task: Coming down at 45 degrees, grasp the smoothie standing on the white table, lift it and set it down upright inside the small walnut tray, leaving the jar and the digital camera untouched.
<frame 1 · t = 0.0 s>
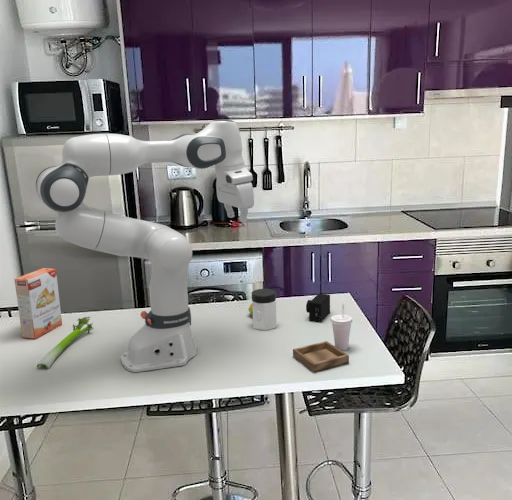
hand: (237, 219, 162), 39 cm above the table, tool pointing down, fingers open, 8 cm apart
cracker box: (43, 331, 184), on the table
tray: (320, 360, 154), on the table
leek: (68, 349, 169), on the table
digital camera: (318, 317, 188), on the table
smoothie: (341, 348, 162), on the table
toy pineapple: (258, 315, 192), on the table
jar: (264, 326, 181), on the table
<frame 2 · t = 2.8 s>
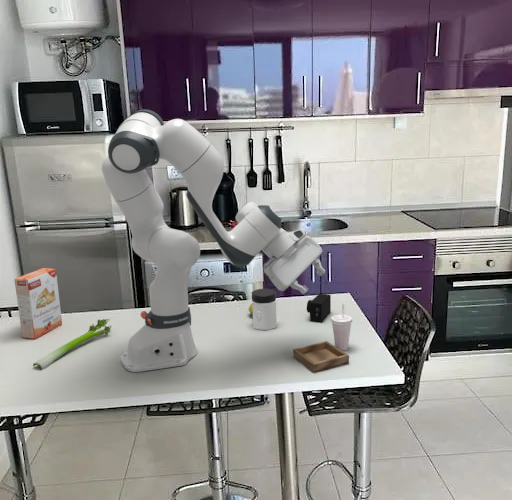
hand: (314, 282, 154), 22 cm above the table, tool tilted 45°, fingers open, 8 cm apart
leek: (77, 351, 168), on the table
everything else where it was.
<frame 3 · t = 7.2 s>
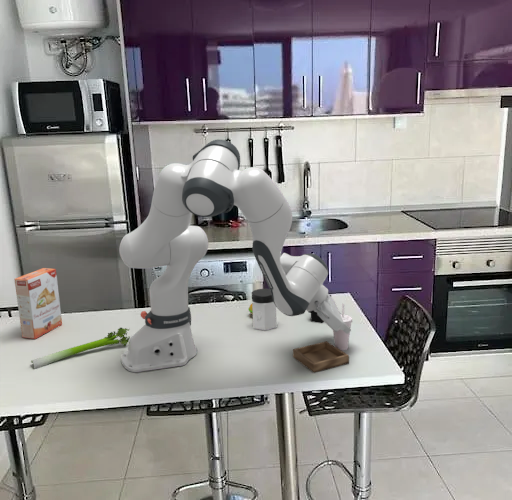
hand: (346, 326, 160), 7 cm above the table, tool tilted 45°, fingers closed on smoothie, 6 cm apart
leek: (84, 356, 164), on the table
smoothie: (341, 348, 161), on the table, touching gripper
everything else where it was.
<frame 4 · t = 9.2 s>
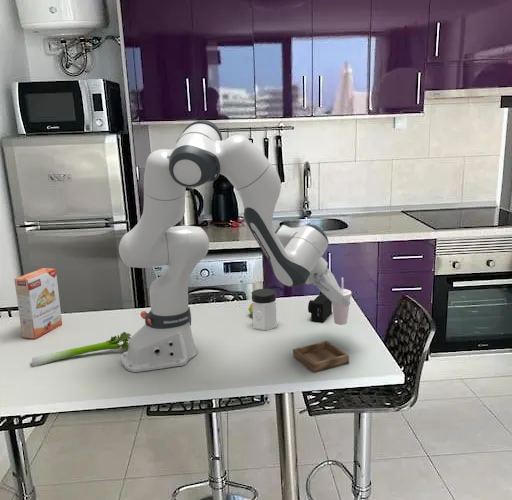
hand: (346, 300, 159), 15 cm above the table, tool tilted 45°, fingers closed on smoothie, 6 cm apart
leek: (85, 358, 162), on the table
smoothie: (340, 323, 160), point 8 cm above the table, touching gripper
everything else where it was.
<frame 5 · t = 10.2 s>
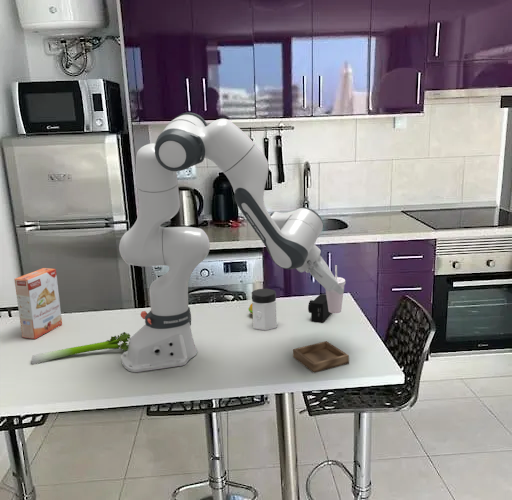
hand: (339, 288, 156), 19 cm above the table, tool tilted 45°, fingers closed on smoothie, 6 cm apart
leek: (84, 357, 163), on the table, touching arm
smoothie: (334, 311, 158), point 12 cm above the table, touching gripper
everything else where it was.
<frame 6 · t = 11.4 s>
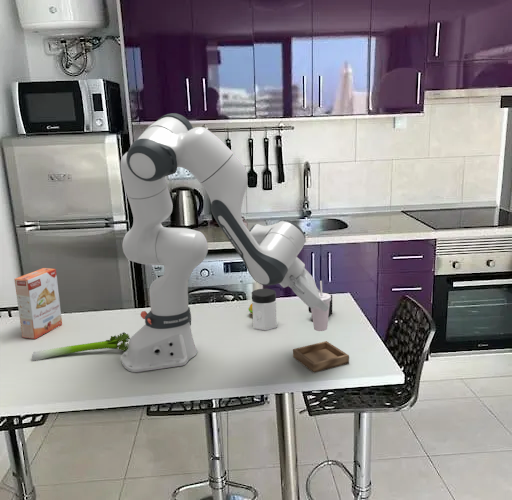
hand: (325, 304, 149), 17 cm above the table, tool tilted 45°, fingers closed on smoothie, 6 cm apart
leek: (84, 356, 164), on the table
smoothie: (320, 329, 151), point 10 cm above the table, touching gripper
everything else where it was.
when the fingers open (9 cm above the table, at t = 13.4 s): smoothie stays where it is, resting on tray.
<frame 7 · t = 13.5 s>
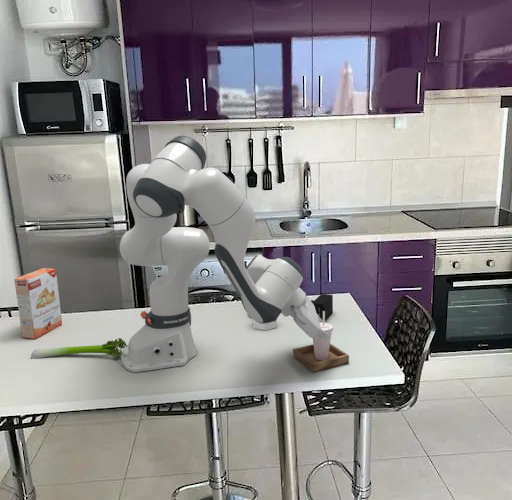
hand: (325, 332, 152), 9 cm above the table, tool tilted 45°, fingers open, 7 cm apart
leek: (80, 358, 163), on the table
smoothie: (321, 358, 154), resting on tray
everything else where it was.
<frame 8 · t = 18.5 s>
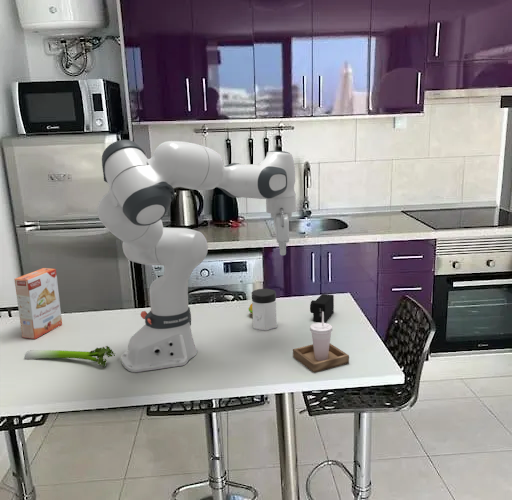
hand: (282, 250, 162), 29 cm above the table, tool pointing down, fingers open, 8 cm apart
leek: (69, 363, 160), on the table
at the end: smoothie inside the target area on the tray (0.4 cm from its centre), point 0.4 cm above the tray's base; smoothie tilted 0°; the gripper is holding nothing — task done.
